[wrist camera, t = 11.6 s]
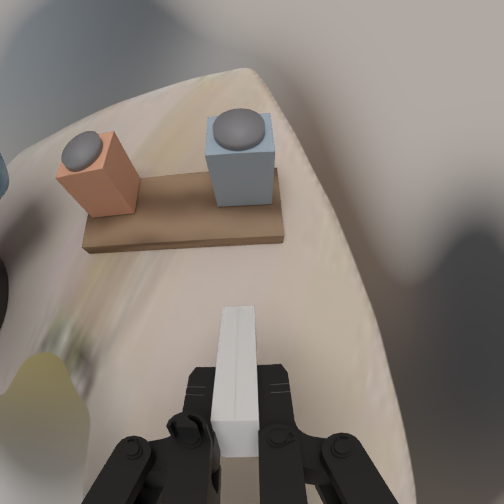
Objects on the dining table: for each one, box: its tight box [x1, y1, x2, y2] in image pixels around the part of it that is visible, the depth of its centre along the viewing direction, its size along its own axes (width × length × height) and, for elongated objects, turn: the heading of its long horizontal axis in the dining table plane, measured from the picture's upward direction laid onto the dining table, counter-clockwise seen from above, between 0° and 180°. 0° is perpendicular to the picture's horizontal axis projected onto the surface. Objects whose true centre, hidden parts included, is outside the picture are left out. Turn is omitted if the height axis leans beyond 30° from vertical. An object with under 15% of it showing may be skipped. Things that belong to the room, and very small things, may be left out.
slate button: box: [205, 109, 275, 207], centre depth 29 cm, size 5×6×10 cm
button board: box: [82, 168, 284, 253], centre depth 34 cm, size 9×24×2 cm, turn 92°
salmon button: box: [56, 131, 140, 218], centre depth 29 cm, size 5×6×10 cm
